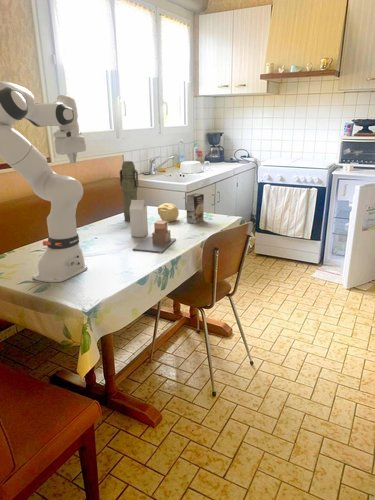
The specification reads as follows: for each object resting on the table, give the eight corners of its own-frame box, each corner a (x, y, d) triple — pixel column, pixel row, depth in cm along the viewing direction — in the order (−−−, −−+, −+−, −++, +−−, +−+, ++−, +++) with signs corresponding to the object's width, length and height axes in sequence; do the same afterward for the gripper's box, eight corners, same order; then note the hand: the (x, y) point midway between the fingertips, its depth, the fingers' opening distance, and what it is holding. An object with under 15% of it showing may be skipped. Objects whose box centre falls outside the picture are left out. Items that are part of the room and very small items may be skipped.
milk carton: (144, 237, 197) (142, 201, 191) (131, 236, 199) (128, 201, 192) (148, 233, 204) (146, 198, 198) (135, 232, 205) (133, 198, 199)
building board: (162, 253, 175) (161, 241, 173) (132, 250, 179) (131, 238, 177) (176, 240, 193) (175, 229, 191) (148, 237, 197) (148, 227, 195)
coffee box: (195, 223, 221) (195, 196, 215) (186, 222, 224) (186, 195, 219) (203, 220, 228) (203, 194, 222) (195, 219, 231) (195, 193, 226)
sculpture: (155, 221, 227) (154, 203, 223) (167, 217, 236) (167, 200, 233) (170, 224, 221) (170, 206, 217) (182, 219, 230) (182, 202, 227)
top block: (164, 233, 184) (163, 223, 182) (154, 232, 185) (154, 222, 184) (167, 230, 188) (167, 221, 187) (158, 229, 190) (157, 220, 188)
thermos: (126, 217, 237) (122, 160, 226) (143, 218, 234) (140, 160, 222) (119, 220, 229) (115, 162, 218) (137, 222, 226) (133, 162, 214)
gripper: (76, 131, 188) (79, 160, 192) (50, 133, 169) (54, 165, 174) (87, 131, 186) (90, 160, 191) (62, 133, 167) (66, 165, 172)
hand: (73, 162), depth 182 cm, fingers closed
